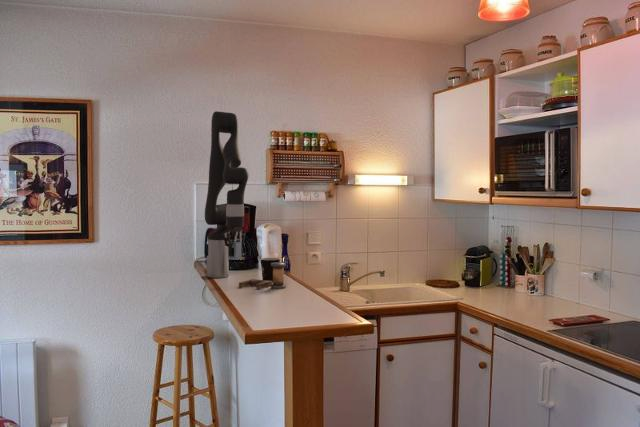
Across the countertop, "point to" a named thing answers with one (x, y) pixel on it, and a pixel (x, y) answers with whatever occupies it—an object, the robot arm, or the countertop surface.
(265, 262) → the coffee mug
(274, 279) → the bobbin
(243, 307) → the countertop surface
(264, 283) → the u-shaped bracket
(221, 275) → the robot arm
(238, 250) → the grey rectangular block
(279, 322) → the countertop surface
